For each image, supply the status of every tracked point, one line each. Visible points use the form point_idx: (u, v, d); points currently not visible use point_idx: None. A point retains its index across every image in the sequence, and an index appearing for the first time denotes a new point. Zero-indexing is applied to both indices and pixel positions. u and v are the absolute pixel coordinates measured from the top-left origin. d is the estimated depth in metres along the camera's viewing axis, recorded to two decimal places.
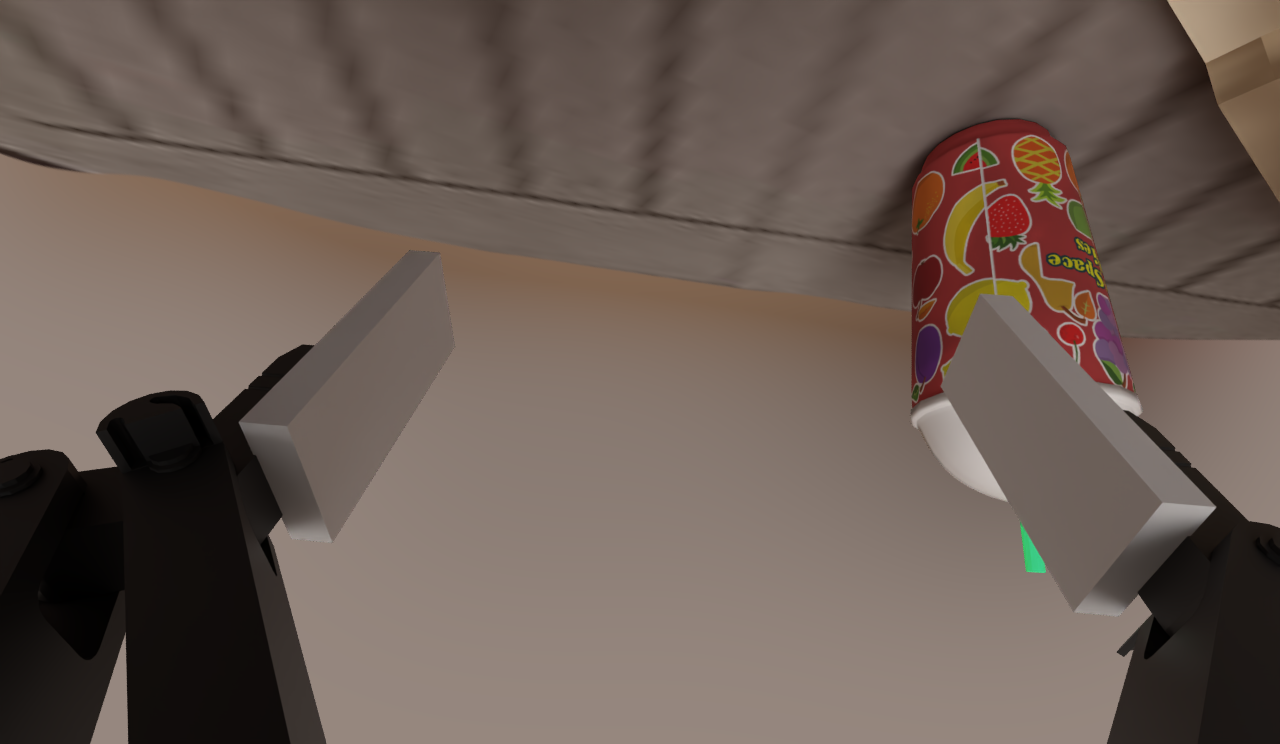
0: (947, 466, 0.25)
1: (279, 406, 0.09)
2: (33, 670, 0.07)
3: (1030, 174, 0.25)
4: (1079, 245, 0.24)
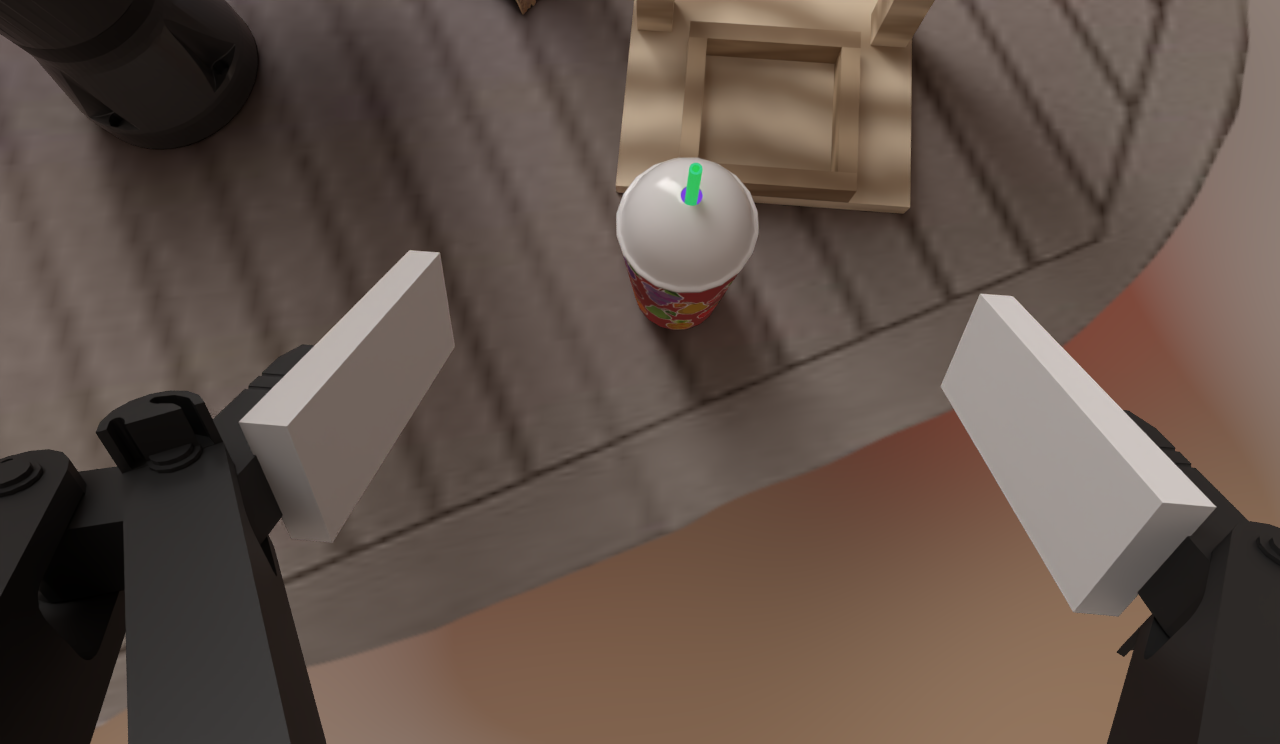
0: (653, 242, 0.32)
1: (279, 406, 0.09)
2: (33, 670, 0.07)
3: None
4: None
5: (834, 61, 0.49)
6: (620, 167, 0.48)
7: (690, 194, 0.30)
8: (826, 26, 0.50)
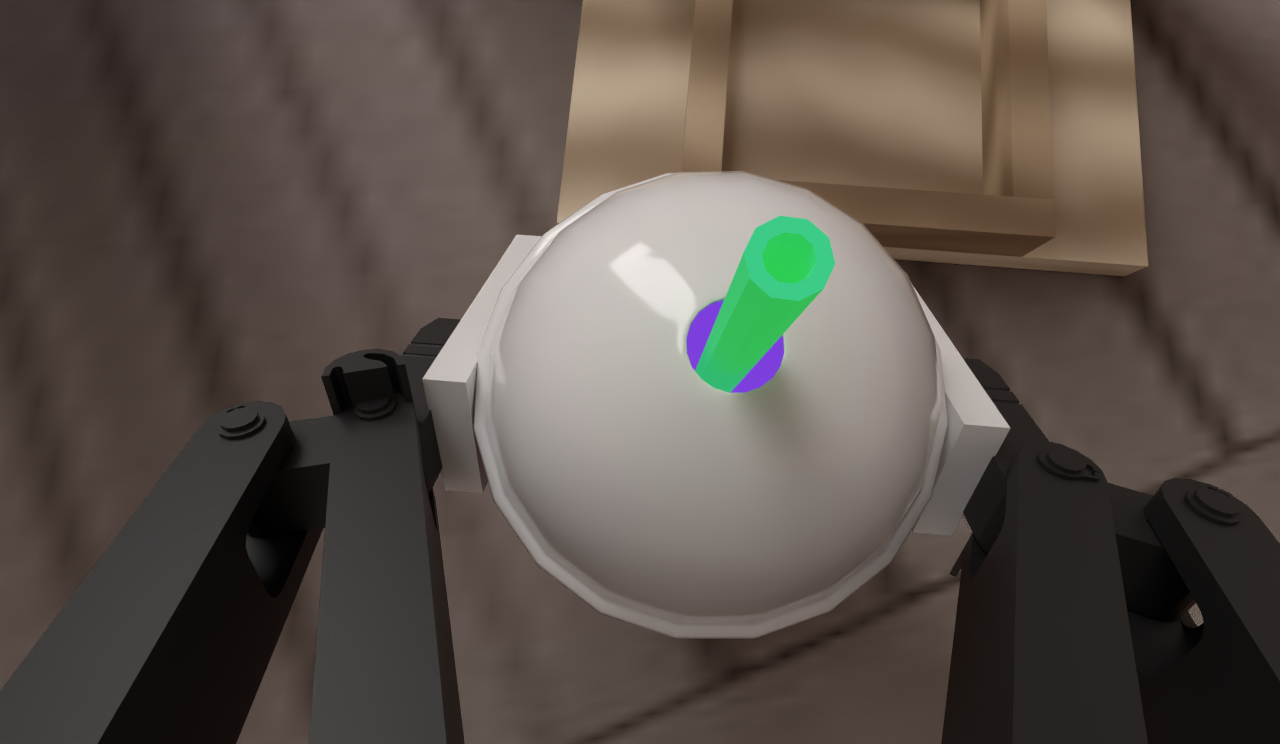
0: (574, 513, 0.08)
1: (452, 366, 0.10)
2: (233, 601, 0.08)
3: None
4: None
5: None
6: (566, 187, 0.25)
7: (733, 355, 0.06)
8: None
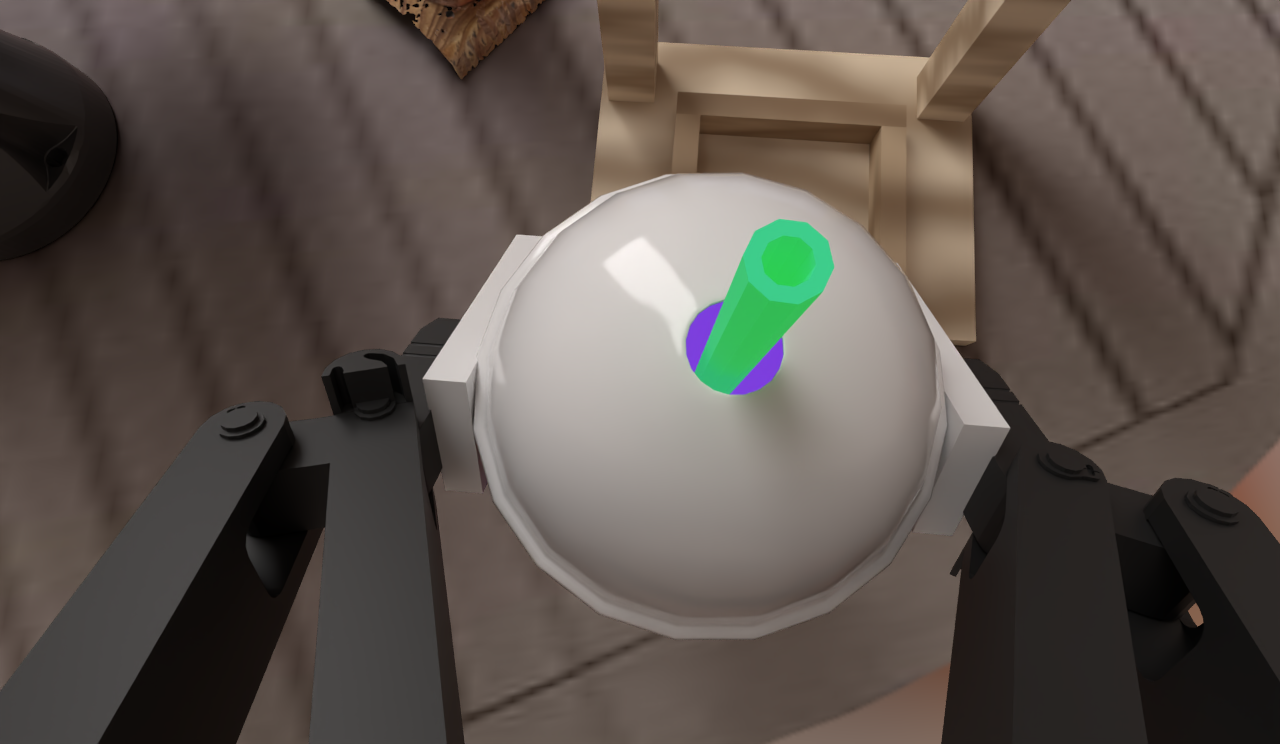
0: (574, 515, 0.08)
1: (452, 366, 0.10)
2: (233, 601, 0.08)
3: None
4: None
5: (869, 141, 0.37)
6: None
7: (733, 357, 0.06)
8: (858, 94, 0.38)
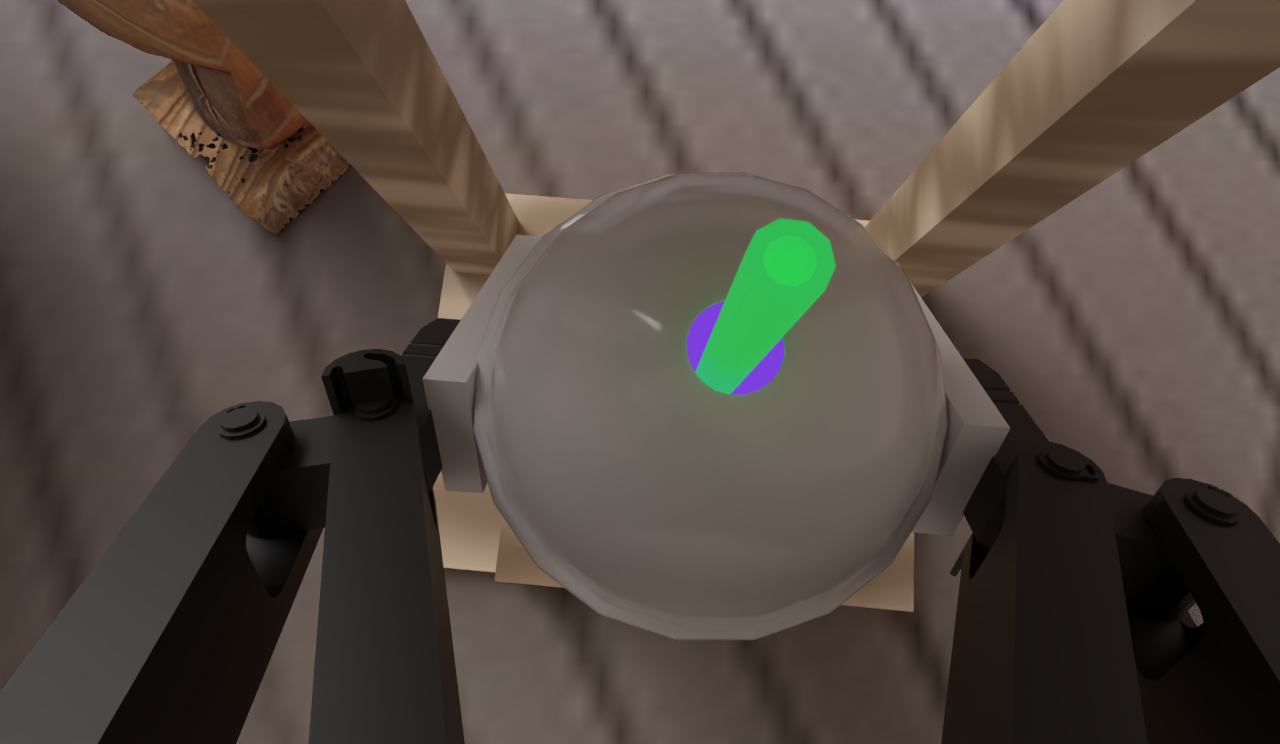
0: (574, 515, 0.08)
1: (452, 366, 0.10)
2: (233, 601, 0.08)
3: None
4: None
5: None
6: None
7: (734, 357, 0.06)
8: None
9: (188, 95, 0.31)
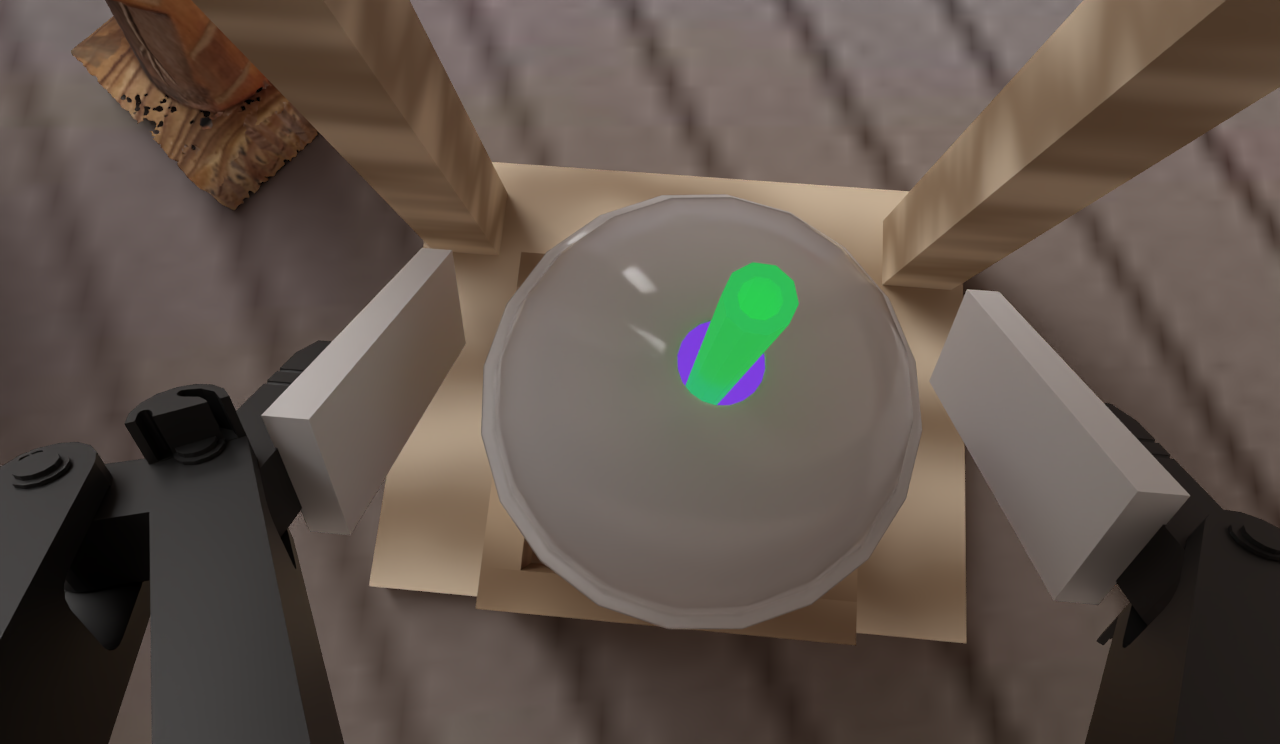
0: (576, 513, 0.09)
1: (300, 400, 0.09)
2: (58, 660, 0.07)
3: None
4: None
5: None
6: (381, 545, 0.24)
7: (718, 373, 0.07)
8: None
9: (133, 52, 0.27)
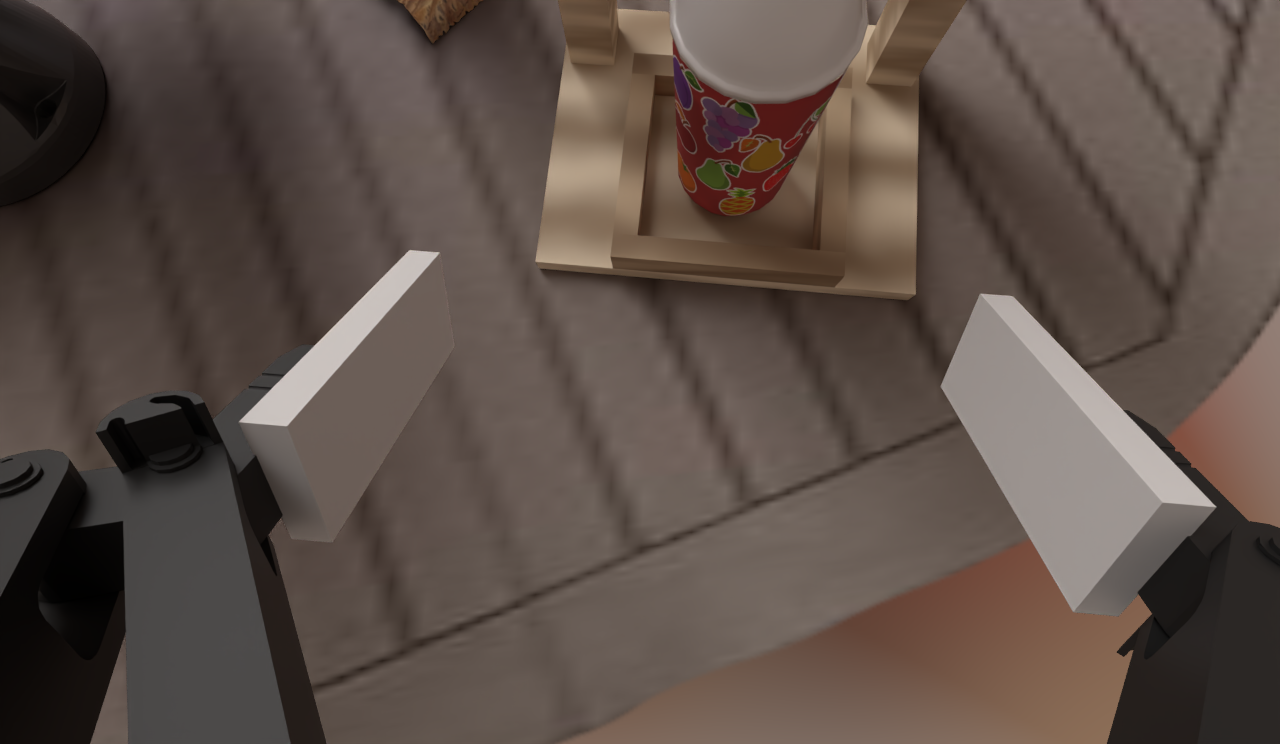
0: (726, 11, 0.22)
1: (279, 406, 0.09)
2: (33, 670, 0.07)
3: None
4: None
5: None
6: (542, 238, 0.38)
7: None
8: None
9: None
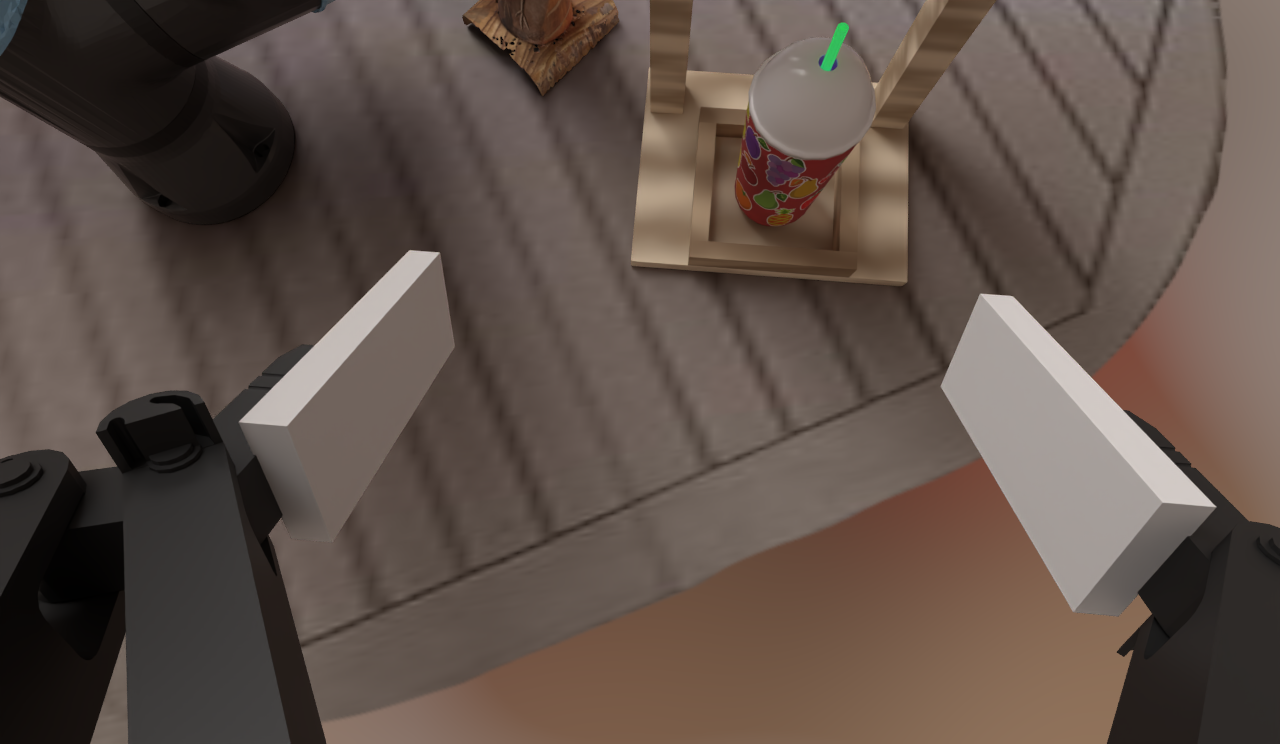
0: (790, 107, 0.36)
1: (278, 406, 0.09)
2: (33, 670, 0.07)
3: None
4: None
5: None
6: (635, 243, 0.52)
7: (829, 58, 0.34)
8: None
9: (496, 15, 0.55)
